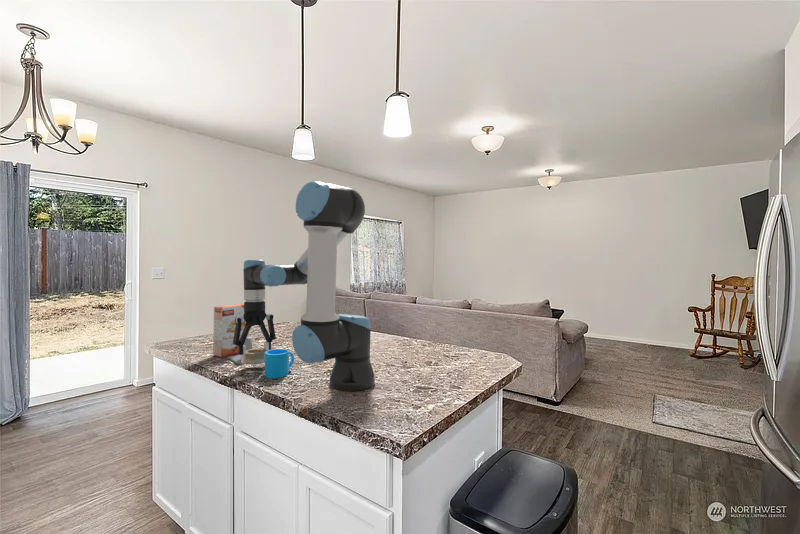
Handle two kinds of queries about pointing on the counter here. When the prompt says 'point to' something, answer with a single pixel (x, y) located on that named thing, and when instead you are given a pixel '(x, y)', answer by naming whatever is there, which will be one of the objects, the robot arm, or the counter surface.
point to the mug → (277, 363)
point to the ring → (255, 356)
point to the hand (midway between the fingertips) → (255, 360)
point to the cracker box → (226, 329)
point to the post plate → (236, 359)
